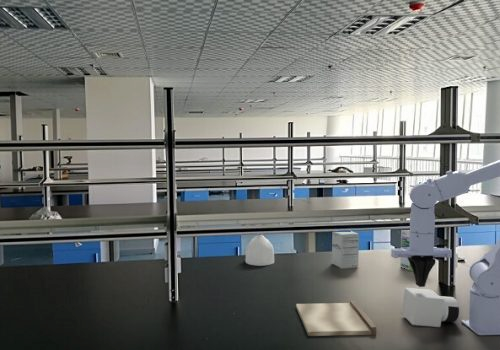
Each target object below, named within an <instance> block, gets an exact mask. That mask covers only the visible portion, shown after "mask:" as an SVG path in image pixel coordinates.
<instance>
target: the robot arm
mask: <svg viewBox="0 0 500 350" xmlns="http://www.w3.org/2000/svg"><path fill="white" fill-rule="evenodd" d="M499 177H500V159H498V160H496V161H493V162H491V163H489V164H486V165H483V166H480V167H478V168H476V169H473V170H471V171H468V172H466V173H465V172H461V171H459V170H455V171H452V170H451V169H450V170H448V171H446V172H445V174H444V175H442V176H439V177H436V178H433V179H432V178H427V179H426V182H425V183H424V182H421V183H416V184H415V185H414V186H413V187H412V188H411V190H410V193H409V194H408V196H409V199H410V201H411V204H410V210H411V211H410V213H409V214H410V215H409V227H410V240H409V247H406V248H401V247H399V248H390V249H391V250H390V256H391V257H392V258H394V259H398V258H401V257H407V258H408V260H409V262H410V264H411V267H412V269H413V271H412V273H413V276H414V279H415V285H416V286H418V287H419V288H425V287H426V283H427V281H428V277H429V274H430V272H431V271H432V269H433V268H434V266H435V265H436V259H435V258H448V259H451V258H452V255H453V254H452V252H453V251H452V250H453V249H450V248H449V247H448V248H447V247H446V248H444V247H435V232H436V231H435V228H436V227H435V225H436V224H435V223H436V214H435V205H436V203H437V202H440V203H441V202H444V201H447V200H449V199H453V198H455V197H458V196H462V195H464V194H467V193H468V191H469V189H470V187H471V186H473V185H477V184H480V183H481V184H482V183H484V182H486V181H490V180H493V179H497V178H499ZM468 271H469V273H468V274H469V276H470V279H471V280H472V282H473V283H472V285H471V286H470V287H469V309H468V310H469V311H468V313H469V315H468V319H461V323H462V324H463V325H465V326H466V327H467V328H469V329H470V330H471V331H473V332H474V333H475V334H477V335H478V336H497V335H498V336H500V238H498V240H497V242H496V243H495V245H494V246H493V247H492V249H491V250H490V251H488V252H486V253H484V255H483V256H482V257H481V258H480V259H479V260H477V261H475V262H474V263H472V265H471V266H470V268H469V270H468Z"/></svg>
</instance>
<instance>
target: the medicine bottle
mask: <svg viewBox="0 0 500 350" xmlns="http://www.w3.org/2000/svg"><path fill="white" fill-rule="evenodd" d="M459 306H460V305H459V303H458V300H457V299H456V298H455V297H453V296H443V295H439V294H437V293H436V292H434V291H433V289H427V288H414V287H405V288H404V291H403V300H402V308H401V315H402V316H403V317H404V318H406V320H407V321H408V322H409V323H410V324H411V325H412V326H421V327H434V328H441V327H442V326H441V325H442V322H447V323H449V322H450V323H455V322H456V321H457V320H458V318H459V316H460V307H459Z"/></svg>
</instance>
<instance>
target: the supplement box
mask: <svg viewBox="0 0 500 350" xmlns="http://www.w3.org/2000/svg"><path fill="white" fill-rule="evenodd" d="M350 231H351V232H332V231H331V234H332V236H331V238H332V239H331V245H332V246H331V264H332V265H333V266H336V267H338V268H339V269H341V270H342V269H352V268H359V250H360V249H359V244H360V233H358V232H356V231H355V232H354V231H353V230H350Z"/></svg>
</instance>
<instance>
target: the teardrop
mask: <svg viewBox="0 0 500 350" xmlns="http://www.w3.org/2000/svg"><path fill="white" fill-rule="evenodd" d="M245 263H246V264H248V265H251V266H263V267H264V266H269V265H273V264H274V263H275V250H274V246H273V244H272V243H271V241H269V239H268V238H266V237H265V236H264V235H263V234H262V235H259V236H257V235H255V237H253V238H251V240H250V241H249V243H248V244H247V245H246V248H245Z"/></svg>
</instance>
